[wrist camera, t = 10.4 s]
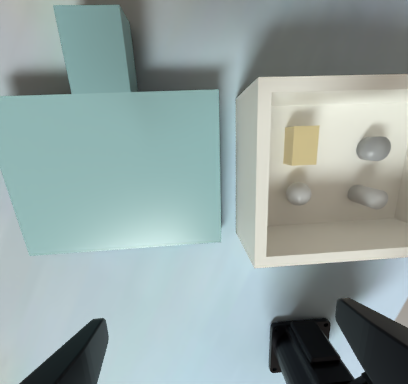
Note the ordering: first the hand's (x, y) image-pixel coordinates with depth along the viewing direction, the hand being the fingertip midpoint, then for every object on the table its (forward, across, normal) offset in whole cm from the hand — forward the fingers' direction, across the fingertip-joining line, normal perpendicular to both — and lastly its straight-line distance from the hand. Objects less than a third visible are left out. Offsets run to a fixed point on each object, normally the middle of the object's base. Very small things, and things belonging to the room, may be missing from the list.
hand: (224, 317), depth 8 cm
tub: (+12, -11, -4) cm, 17 cm away
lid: (+12, +7, -7) cm, 16 cm away
